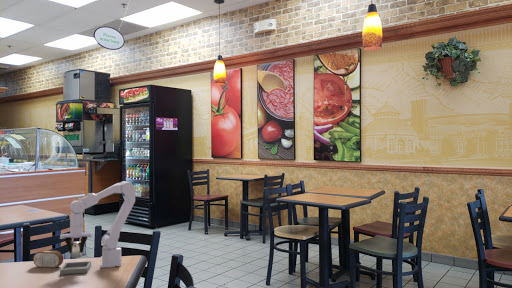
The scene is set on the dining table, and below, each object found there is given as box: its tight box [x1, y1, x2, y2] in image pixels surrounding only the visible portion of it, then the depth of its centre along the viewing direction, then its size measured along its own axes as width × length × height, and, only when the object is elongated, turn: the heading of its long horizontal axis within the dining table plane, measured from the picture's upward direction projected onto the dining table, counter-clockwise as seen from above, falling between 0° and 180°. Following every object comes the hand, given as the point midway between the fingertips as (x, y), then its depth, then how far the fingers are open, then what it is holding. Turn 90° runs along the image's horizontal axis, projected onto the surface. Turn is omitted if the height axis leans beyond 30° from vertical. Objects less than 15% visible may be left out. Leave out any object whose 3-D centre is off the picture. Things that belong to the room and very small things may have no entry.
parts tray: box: [59, 260, 92, 276], centre depth 191 cm, size 12×12×2 cm
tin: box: [32, 249, 64, 269], centre depth 196 cm, size 15×3×8 cm, turn 84°
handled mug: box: [70, 240, 82, 259], centre depth 190 cm, size 4×6×7 cm
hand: (76, 252), depth 191 cm, fingers closed on handled mug, 4 cm apart
